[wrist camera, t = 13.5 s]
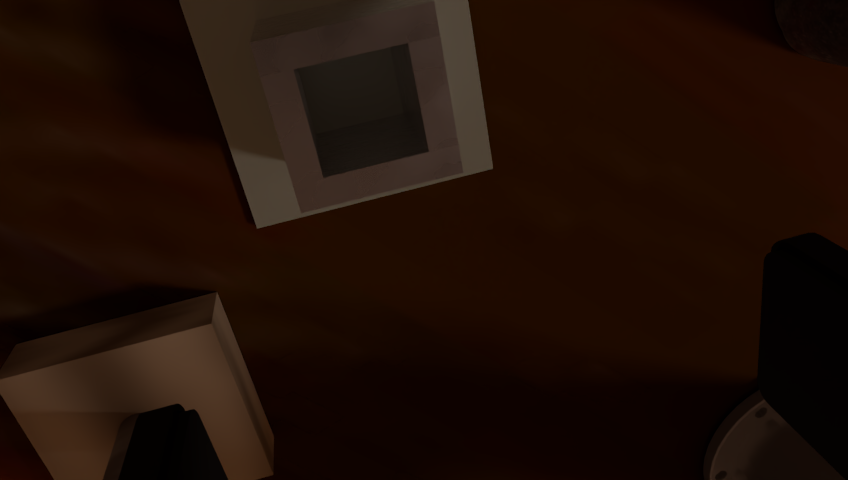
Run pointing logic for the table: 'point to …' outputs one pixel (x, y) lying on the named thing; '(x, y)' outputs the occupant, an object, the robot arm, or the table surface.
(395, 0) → the hollow square tube
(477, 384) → the table surface
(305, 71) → the rubber pad
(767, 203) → the table surface
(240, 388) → the peg stand
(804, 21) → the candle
